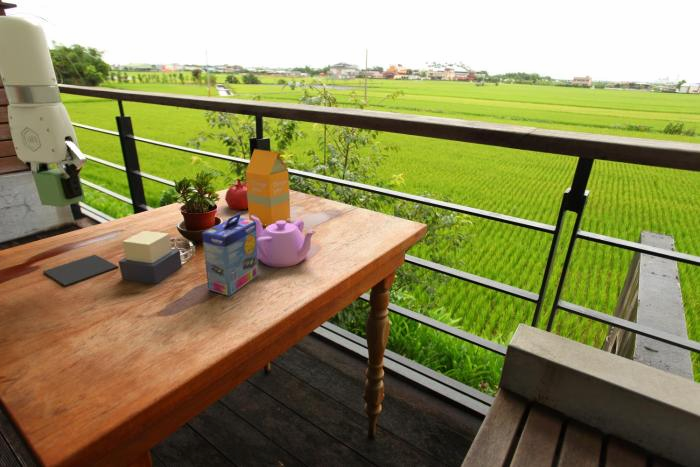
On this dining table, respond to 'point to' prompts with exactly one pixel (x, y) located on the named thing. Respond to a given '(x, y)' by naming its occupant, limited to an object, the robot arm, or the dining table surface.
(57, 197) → the green block
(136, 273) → the navy block
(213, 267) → the ink cartridge box
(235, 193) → the pomegranate
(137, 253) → the cream block
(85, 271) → the mat
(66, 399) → the dining table surface
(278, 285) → the dining table surface
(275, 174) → the orange juice
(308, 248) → the teapot
